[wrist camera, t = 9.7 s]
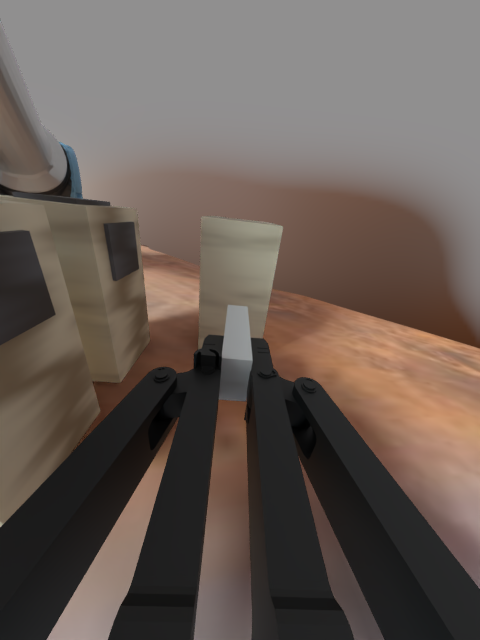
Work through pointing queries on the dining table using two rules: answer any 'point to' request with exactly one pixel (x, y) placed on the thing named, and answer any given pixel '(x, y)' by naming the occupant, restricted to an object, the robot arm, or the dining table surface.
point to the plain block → (236, 272)
